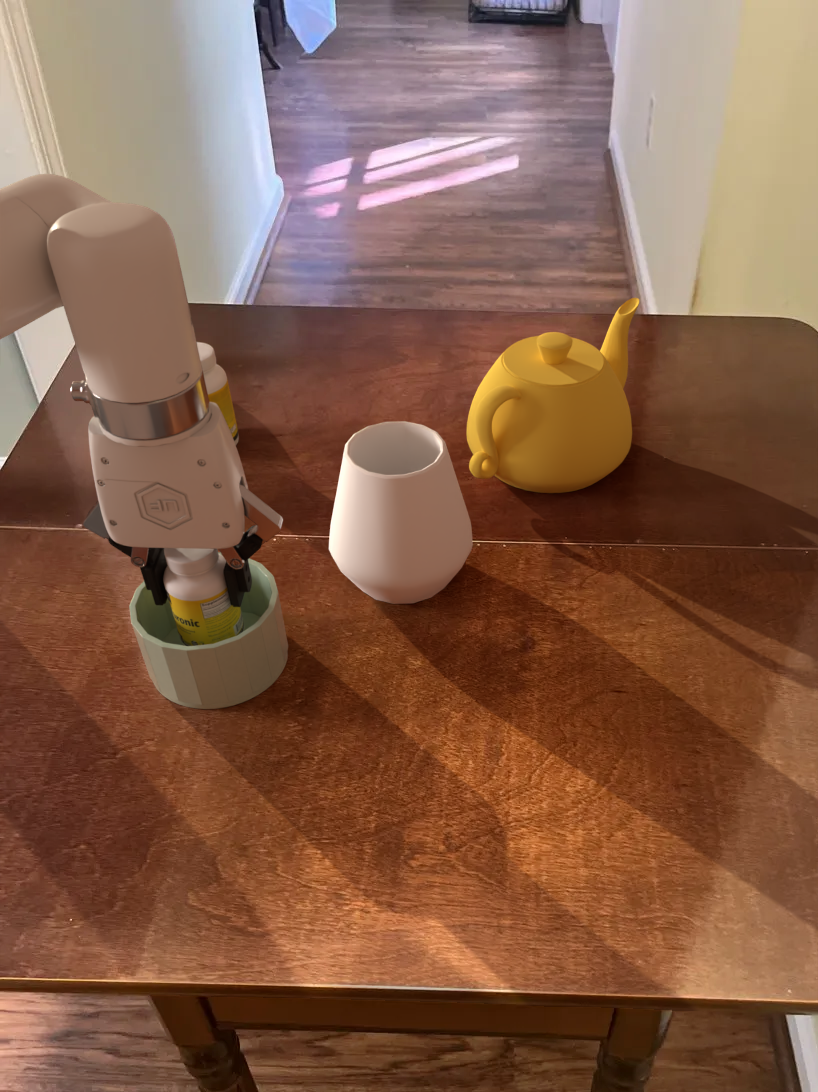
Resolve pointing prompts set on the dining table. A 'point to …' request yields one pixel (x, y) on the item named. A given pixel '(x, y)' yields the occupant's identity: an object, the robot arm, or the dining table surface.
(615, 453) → the teapot
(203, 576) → the supplement bottle
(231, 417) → the pill bottle
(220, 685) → the bowl
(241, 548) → the robot arm
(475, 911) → the dining table surface
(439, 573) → the cup
